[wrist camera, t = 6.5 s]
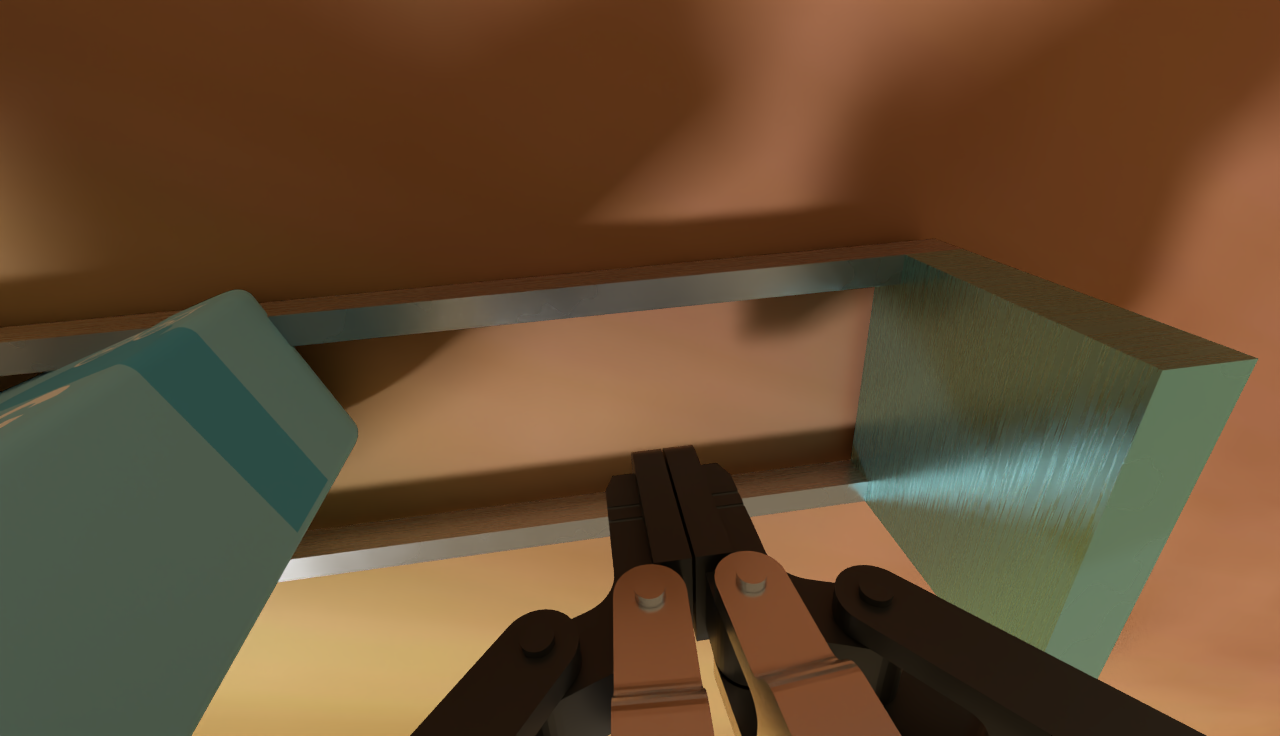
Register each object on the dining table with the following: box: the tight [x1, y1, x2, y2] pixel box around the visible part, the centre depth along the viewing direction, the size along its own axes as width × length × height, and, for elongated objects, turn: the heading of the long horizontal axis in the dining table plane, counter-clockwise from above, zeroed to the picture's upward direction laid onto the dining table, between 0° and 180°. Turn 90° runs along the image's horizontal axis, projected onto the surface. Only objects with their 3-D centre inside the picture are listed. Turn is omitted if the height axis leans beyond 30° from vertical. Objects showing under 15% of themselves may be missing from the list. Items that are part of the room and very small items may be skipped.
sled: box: [0, 239, 1258, 679], centre depth 12 cm, size 8×30×8 cm, turn 93°
